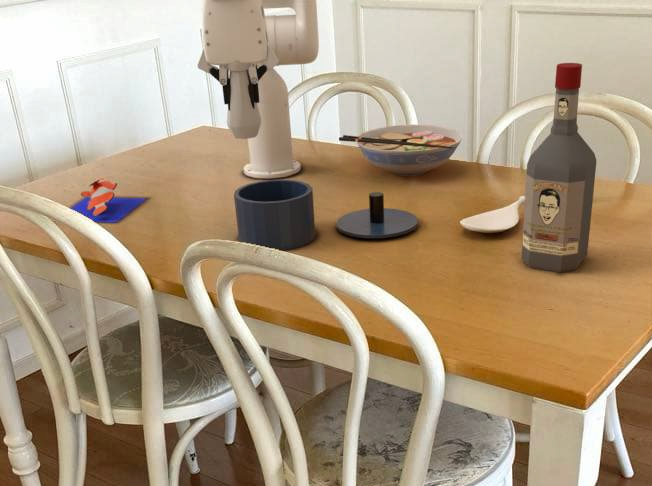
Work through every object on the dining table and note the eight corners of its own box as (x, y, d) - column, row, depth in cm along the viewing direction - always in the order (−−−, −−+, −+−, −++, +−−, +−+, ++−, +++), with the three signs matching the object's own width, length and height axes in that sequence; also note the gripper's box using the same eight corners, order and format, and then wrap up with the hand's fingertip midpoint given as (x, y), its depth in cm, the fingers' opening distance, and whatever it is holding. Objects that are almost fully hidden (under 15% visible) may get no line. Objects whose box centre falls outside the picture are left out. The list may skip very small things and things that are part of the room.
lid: (336, 216, 166) (335, 183, 163) (415, 212, 166) (414, 180, 163) (336, 243, 153) (334, 209, 150) (420, 239, 153) (420, 205, 150)
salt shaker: (229, 132, 151) (220, 52, 144) (262, 130, 151) (255, 50, 145) (227, 141, 146) (218, 58, 139) (262, 139, 146) (254, 56, 140)
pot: (243, 226, 163) (238, 181, 159) (316, 223, 163) (313, 177, 159) (235, 252, 152) (230, 204, 147) (314, 249, 151) (310, 201, 147)
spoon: (592, 198, 168) (593, 180, 166) (490, 245, 149) (491, 225, 147) (551, 190, 174) (553, 172, 172) (449, 234, 155) (449, 215, 153)
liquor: (536, 247, 147) (549, 58, 132) (590, 255, 143) (610, 61, 128) (516, 266, 141) (527, 69, 125) (572, 275, 136) (591, 72, 121)
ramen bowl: (482, 162, 193) (484, 124, 189) (442, 192, 176) (442, 151, 172) (380, 153, 203) (379, 117, 199) (333, 180, 186) (330, 141, 182)
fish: (90, 173, 179) (128, 174, 178) (94, 196, 182) (132, 197, 180) (59, 193, 168) (101, 193, 167) (65, 217, 171) (105, 218, 169)
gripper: (283, -19, 140) (292, 101, 149) (182, -14, 140) (197, 105, 150) (280, -14, 133) (290, 111, 143) (173, -8, 134) (190, 115, 143)
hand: (242, 107), depth 146 cm, fingers closed on salt shaker, 3 cm apart
